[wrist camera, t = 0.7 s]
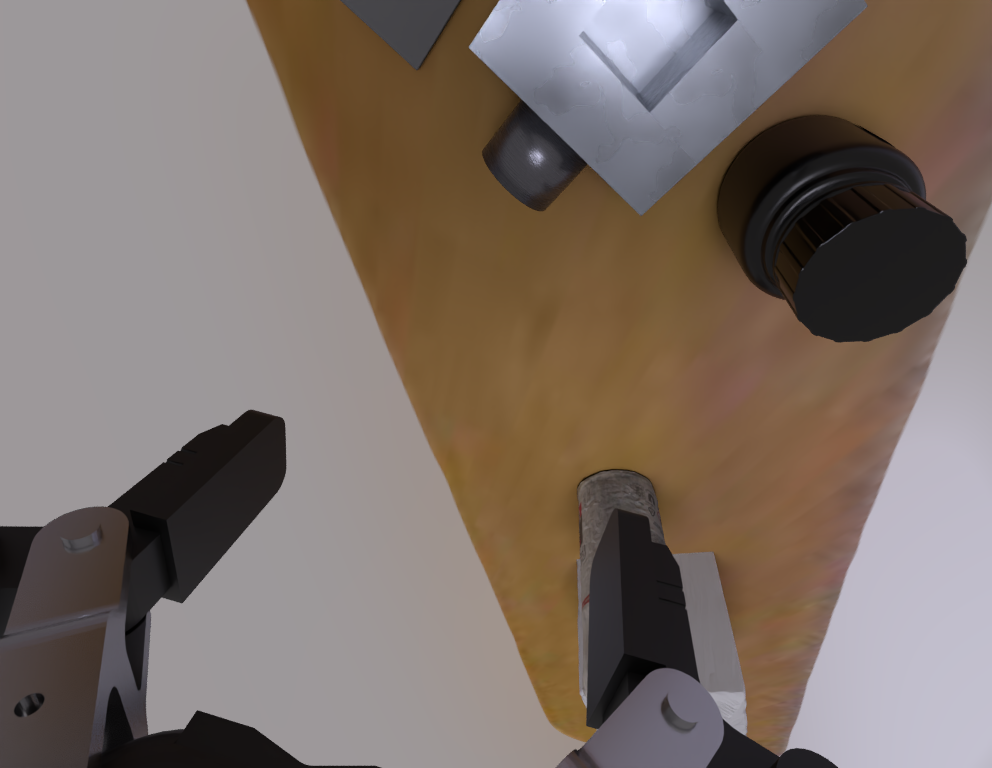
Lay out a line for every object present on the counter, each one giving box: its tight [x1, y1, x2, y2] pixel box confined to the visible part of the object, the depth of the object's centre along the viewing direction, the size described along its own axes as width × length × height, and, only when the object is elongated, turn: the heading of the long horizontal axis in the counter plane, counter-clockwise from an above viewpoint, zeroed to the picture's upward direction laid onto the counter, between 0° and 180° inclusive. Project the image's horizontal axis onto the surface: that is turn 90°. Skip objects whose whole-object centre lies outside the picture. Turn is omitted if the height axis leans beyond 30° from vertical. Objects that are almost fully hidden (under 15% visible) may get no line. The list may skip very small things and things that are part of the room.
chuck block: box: [469, 0, 867, 216], centre depth 26 cm, size 12×16×6 cm
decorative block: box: [577, 552, 747, 737], centre depth 56 cm, size 16×16×20 cm
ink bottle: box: [718, 116, 967, 342], centre depth 28 cm, size 10×9×12 cm
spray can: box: [577, 470, 666, 698], centre depth 45 cm, size 8×8×20 cm
